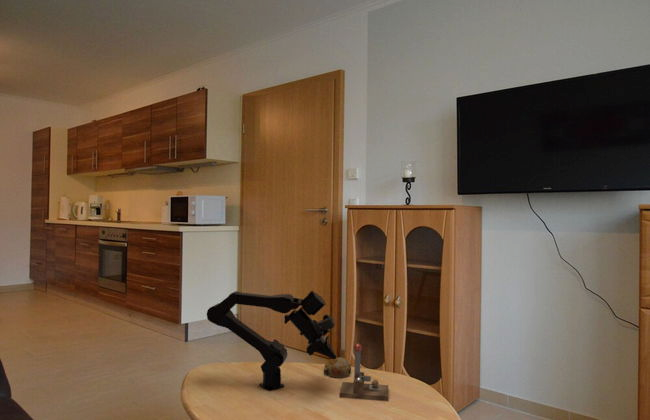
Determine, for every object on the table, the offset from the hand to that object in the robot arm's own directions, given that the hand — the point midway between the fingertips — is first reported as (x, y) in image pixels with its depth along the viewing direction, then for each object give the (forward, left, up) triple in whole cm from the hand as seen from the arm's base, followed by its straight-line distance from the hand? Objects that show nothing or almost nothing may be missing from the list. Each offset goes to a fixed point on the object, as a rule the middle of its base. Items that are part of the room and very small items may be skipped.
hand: (335, 358), depth 157 cm
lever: (+7, +6, -8) cm, 12 cm away
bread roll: (-12, +12, -12) cm, 21 cm away
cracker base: (+8, +7, -11) cm, 15 cm away
